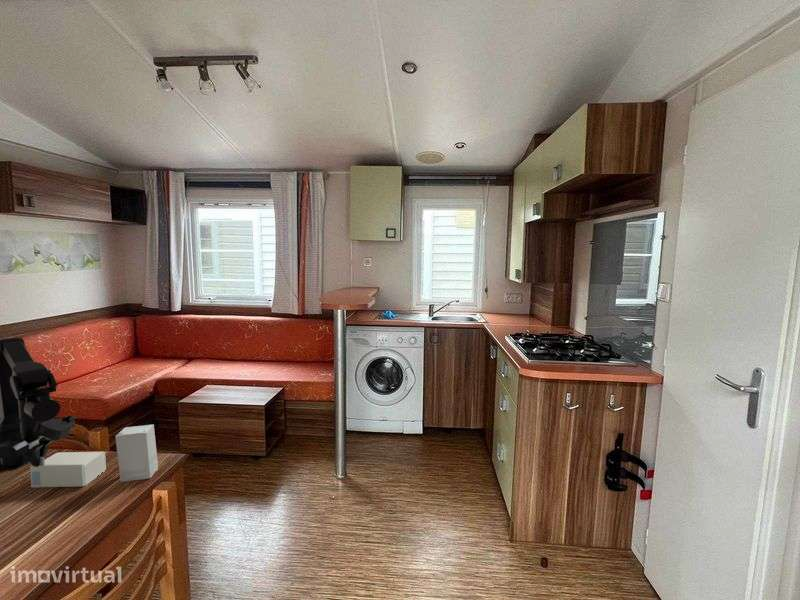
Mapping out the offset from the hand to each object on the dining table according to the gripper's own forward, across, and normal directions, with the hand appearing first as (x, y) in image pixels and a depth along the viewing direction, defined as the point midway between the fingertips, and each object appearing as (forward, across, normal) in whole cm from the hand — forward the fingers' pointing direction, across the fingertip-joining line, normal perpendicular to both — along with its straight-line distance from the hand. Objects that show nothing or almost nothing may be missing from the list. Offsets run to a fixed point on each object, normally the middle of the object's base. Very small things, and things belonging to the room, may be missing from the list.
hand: (38, 465), depth 103 cm
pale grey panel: (+6, 0, -5) cm, 8 cm away
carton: (+7, +4, -5) cm, 9 cm away
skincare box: (+7, +5, -24) cm, 25 cm away
